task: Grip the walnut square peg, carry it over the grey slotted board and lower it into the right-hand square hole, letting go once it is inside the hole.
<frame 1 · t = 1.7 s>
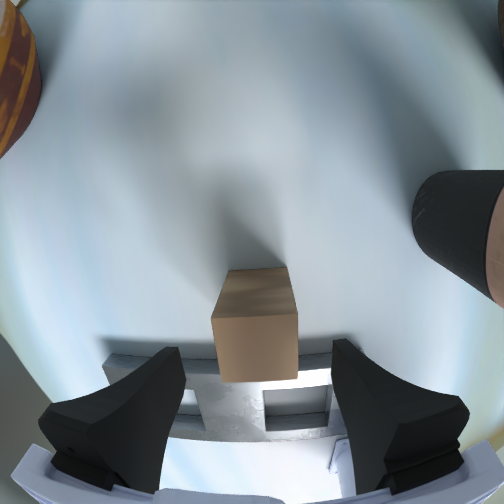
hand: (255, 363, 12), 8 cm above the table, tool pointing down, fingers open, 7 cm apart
jug: (13, 105, 16), on the table
travel mug: (445, 216, 18), on the table
grey slotted board: (233, 397, 22), on the table
walnut peg: (260, 295, 20), on the table
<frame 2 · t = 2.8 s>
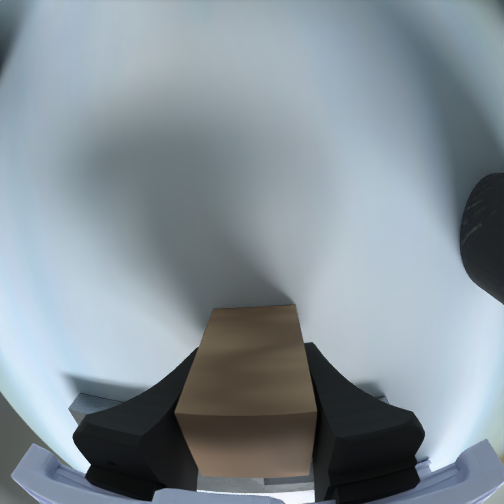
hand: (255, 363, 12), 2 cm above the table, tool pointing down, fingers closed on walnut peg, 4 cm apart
travel mug: (494, 230, 12), on the table
grey slotted board: (226, 448, 17), on the table
walnut peg: (257, 341, 14), on the table, touching gripper
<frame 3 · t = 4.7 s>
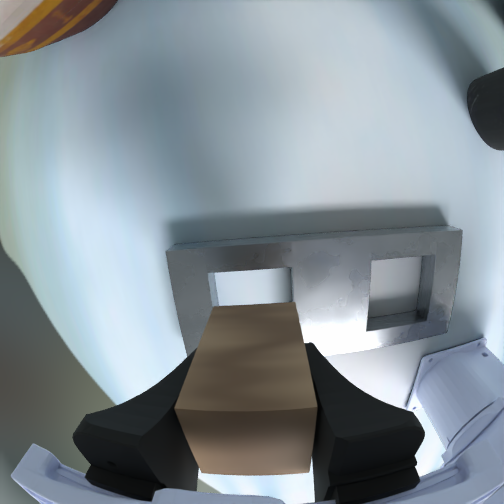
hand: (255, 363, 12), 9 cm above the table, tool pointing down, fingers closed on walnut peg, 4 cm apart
jug: (83, 6, 14), on the table
travel mug: (490, 114, 16), on the table
grey slotted board: (327, 291, 20), on the table
walnut peg: (257, 338, 14), point 7 cm above the table, touching gripper
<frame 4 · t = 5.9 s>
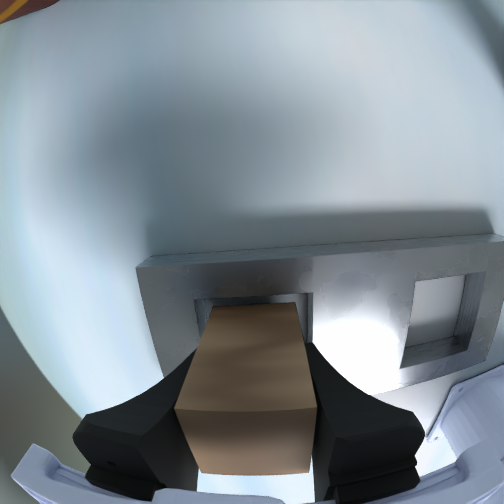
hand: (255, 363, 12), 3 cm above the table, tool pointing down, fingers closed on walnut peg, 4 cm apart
grey slotted board: (353, 318, 15), on the table
walnut peg: (256, 339, 14), point 1 cm above the table, touching gripper
when the fingers open (3 cm above the table, at t = 6.6 s): walnut peg drops 1 cm, resting in grey slotted board.
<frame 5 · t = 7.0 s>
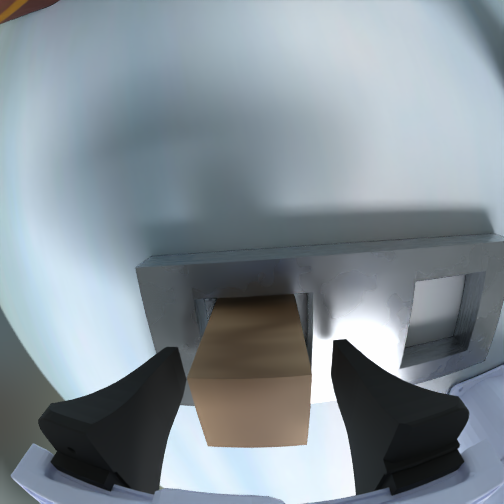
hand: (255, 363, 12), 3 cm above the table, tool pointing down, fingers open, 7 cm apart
grey slotted board: (353, 319, 15), on the table
walnut peg: (258, 325, 15), resting in grey slotted board
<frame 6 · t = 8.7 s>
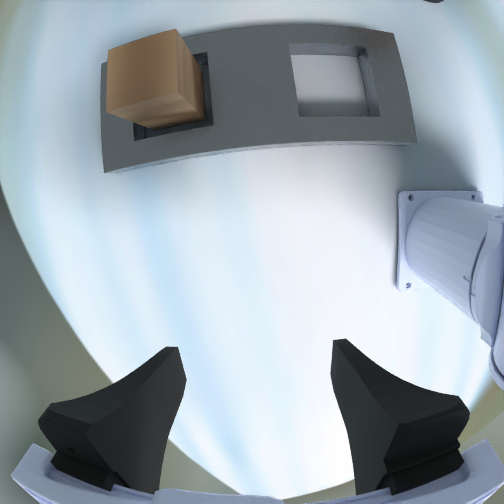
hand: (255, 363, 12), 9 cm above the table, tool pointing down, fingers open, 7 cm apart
grey slotted board: (253, 89, 17), on the table
walnut peg: (178, 100, 18), resting in grey slotted board
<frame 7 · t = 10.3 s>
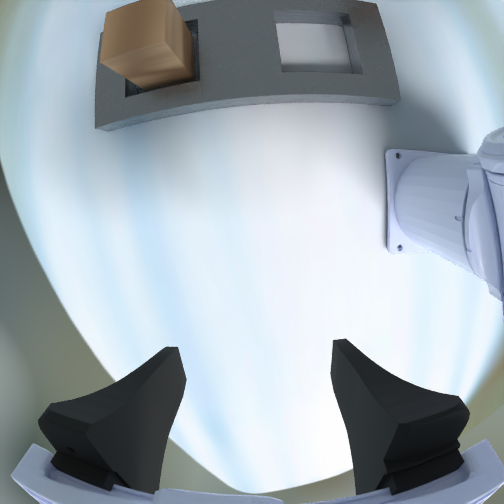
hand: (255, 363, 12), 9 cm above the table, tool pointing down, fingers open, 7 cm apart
grey slotted board: (240, 53, 17), on the table
walnut peg: (169, 64, 17), resting in grey slotted board
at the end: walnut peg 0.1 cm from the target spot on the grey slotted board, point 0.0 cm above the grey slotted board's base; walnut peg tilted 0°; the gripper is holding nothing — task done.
